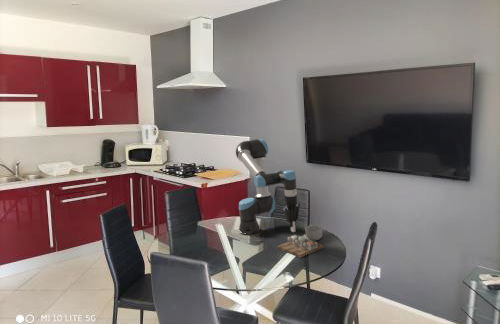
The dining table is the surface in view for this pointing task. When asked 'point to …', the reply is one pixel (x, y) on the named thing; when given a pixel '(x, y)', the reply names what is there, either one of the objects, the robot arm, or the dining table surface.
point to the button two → (301, 238)
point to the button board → (299, 247)
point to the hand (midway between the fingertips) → (293, 231)
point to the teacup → (313, 232)
